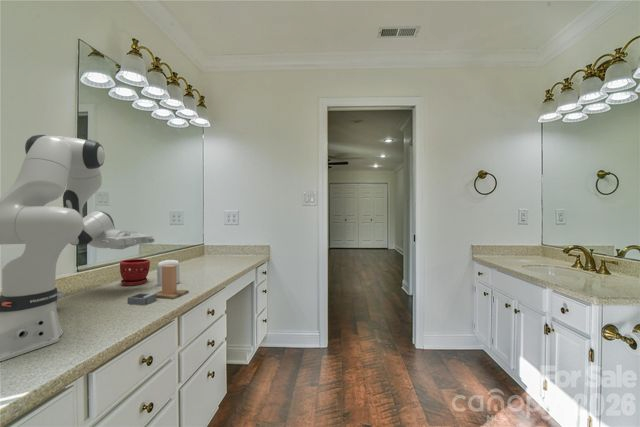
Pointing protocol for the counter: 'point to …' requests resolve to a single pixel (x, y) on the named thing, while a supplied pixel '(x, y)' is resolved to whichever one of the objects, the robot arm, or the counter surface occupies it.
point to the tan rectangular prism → (169, 279)
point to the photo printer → (159, 270)
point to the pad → (171, 296)
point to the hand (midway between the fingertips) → (145, 241)
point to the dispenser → (142, 299)
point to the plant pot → (134, 271)
